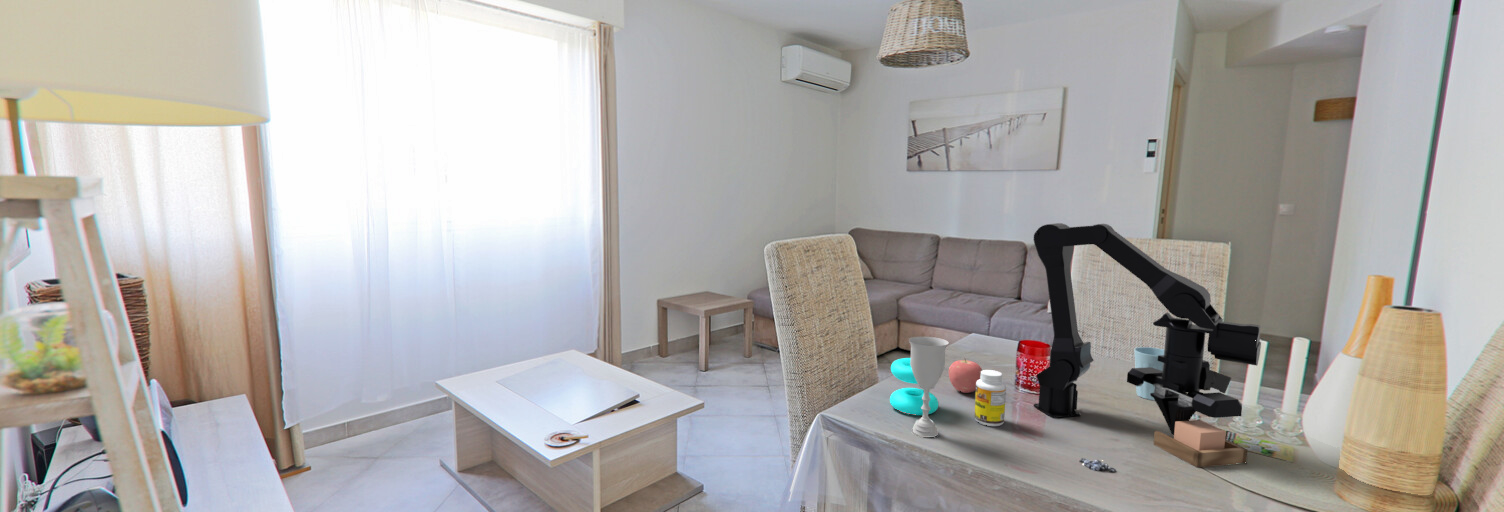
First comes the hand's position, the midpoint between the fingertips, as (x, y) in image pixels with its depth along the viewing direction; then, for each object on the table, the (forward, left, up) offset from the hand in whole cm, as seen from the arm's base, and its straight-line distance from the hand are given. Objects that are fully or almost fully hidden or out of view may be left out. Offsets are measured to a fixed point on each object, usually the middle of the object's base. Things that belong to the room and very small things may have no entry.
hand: (1175, 435), depth 107 cm
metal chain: (-21, -6, -2) cm, 22 cm away
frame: (0, -4, -1) cm, 5 cm away
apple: (-25, +31, -2) cm, 40 cm away
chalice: (-44, +11, -2) cm, 45 cm away
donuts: (-41, +23, -2) cm, 47 cm away
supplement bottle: (-29, +14, -2) cm, 32 cm away
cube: (0, -5, -1) cm, 5 cm away
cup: (+15, +22, -2) cm, 26 cm away
